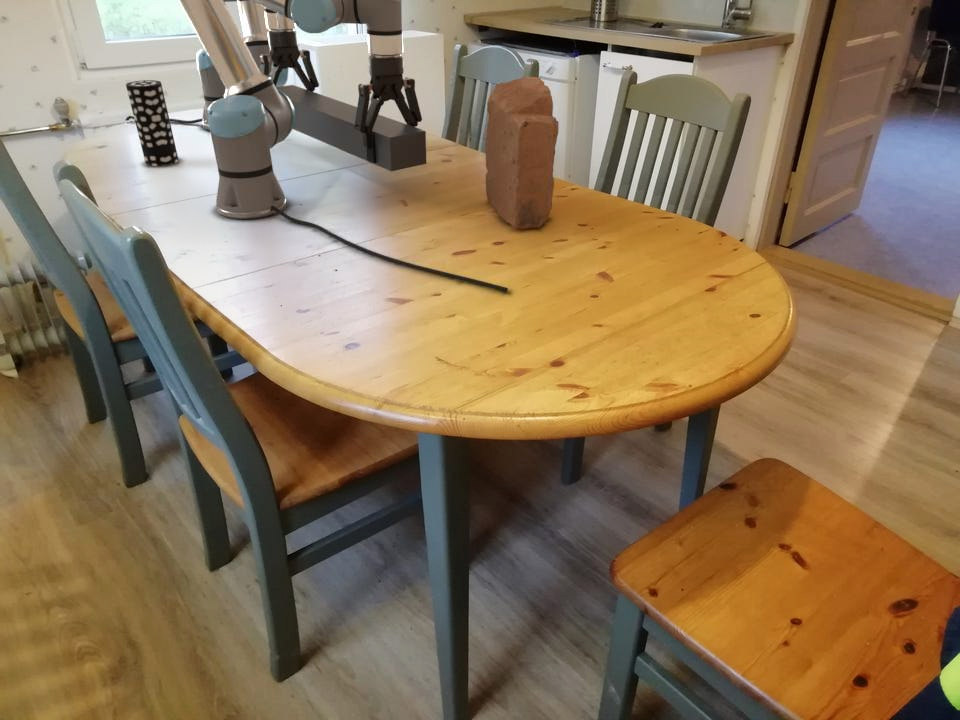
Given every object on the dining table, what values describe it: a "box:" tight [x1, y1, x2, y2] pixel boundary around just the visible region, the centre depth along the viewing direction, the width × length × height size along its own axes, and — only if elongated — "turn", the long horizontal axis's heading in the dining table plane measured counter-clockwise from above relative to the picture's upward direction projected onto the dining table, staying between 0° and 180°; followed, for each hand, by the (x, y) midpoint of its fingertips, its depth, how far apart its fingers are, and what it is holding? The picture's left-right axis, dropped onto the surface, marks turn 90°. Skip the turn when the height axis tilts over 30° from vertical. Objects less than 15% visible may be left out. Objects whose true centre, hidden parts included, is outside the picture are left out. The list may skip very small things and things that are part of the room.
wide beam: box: [276, 84, 427, 172], centre depth 175 cm, size 63×10×8 cm, turn 40°
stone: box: [484, 76, 560, 230], centre depth 149 cm, size 22×11×28 cm, turn 18°
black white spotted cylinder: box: [125, 79, 179, 167], centre depth 181 cm, size 8×8×20 cm
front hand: (390, 157), depth 162 cm, fingers closed on wide beam, 10 cm apart
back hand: (292, 117), depth 192 cm, fingers closed on wide beam, 10 cm apart
